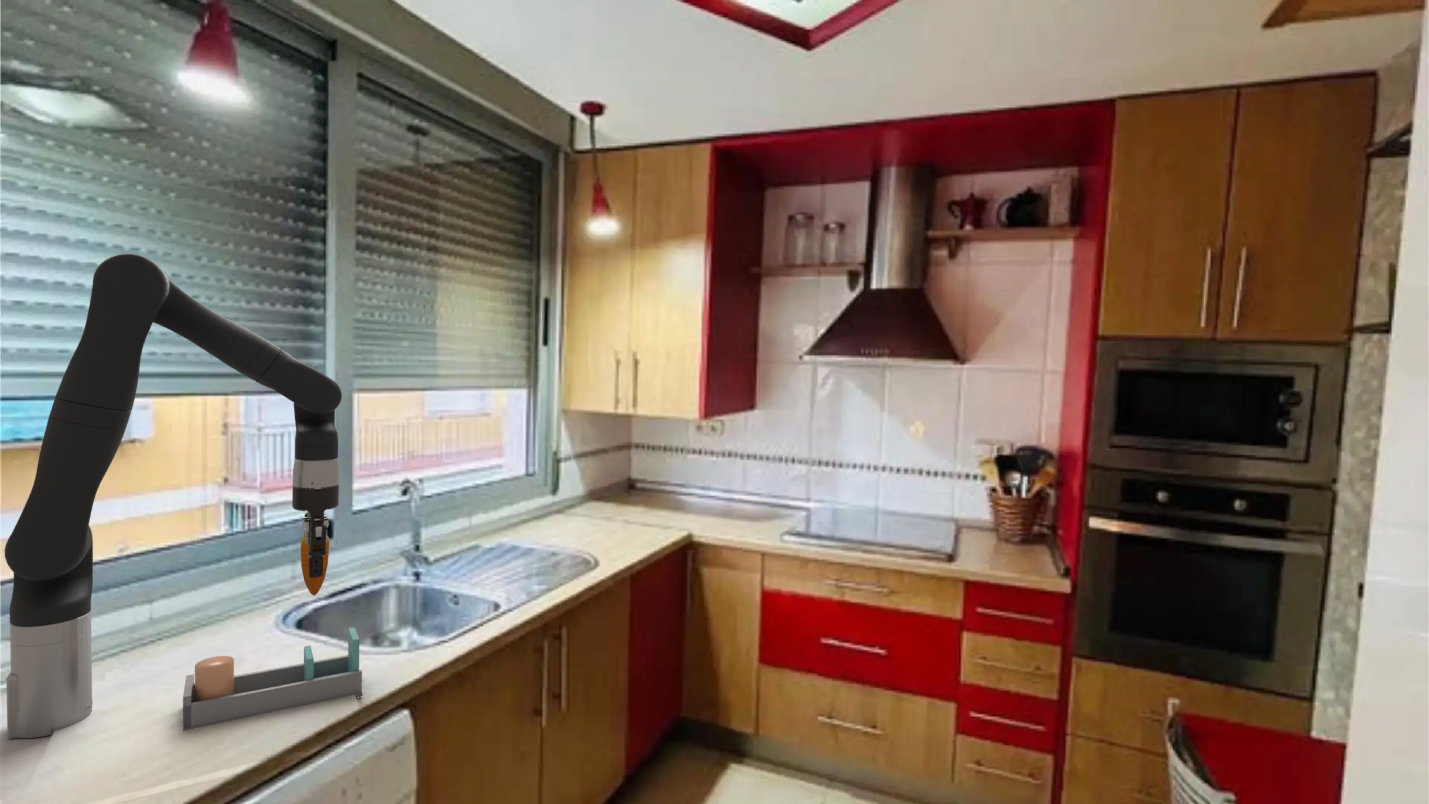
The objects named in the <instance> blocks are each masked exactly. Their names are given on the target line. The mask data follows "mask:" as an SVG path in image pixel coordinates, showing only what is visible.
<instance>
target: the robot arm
mask: <svg viewBox="0 0 1429 804" xmlns="http://www.w3.org/2000/svg"><path fill="white" fill-rule="evenodd" d="M92 279H93V280H92V286H91V287H92V288H91V294H90V299H89V300H90V301H89V306H88V310H87V315H86V320H85V326H84V329H83V333H82V335H81V338H80V340H79V342H78V344H77V346H76V348H75V350H74V352H73V355H72V356H71V358H70V361H69V363H68V365H67V368H66V369H65V372H64V374H63V376H62V379H61V381H60V385H59V386H58V389H57V391H56V394H55V397H54V400H53V403H52V406H51V410H50V412H49V415H48V418H47V422H46V427H45V431H44V435H43V438H42V443H41V446H40V451H39V455H38V461H37V465H36V473H35V477H34V481H33V485H32V488H31V489H30V490H31V491H30V493H29V496H28V498H27V500H26V502H25V504H24V507H23V509H22V511H21V513H20V516H19V518H18V519H17V521H16V524H15V526H14V528H13V529H12V532H11V534H10V535H9V537H8V538H7V541H6V543H5V546H4V559H5V561H6V562H5V563H6V564H7V566H8V568H10V570H11V571H12V572H13V586H12V593H11V600H10V604H9V641H10V642H9V643H10V645H9V646H10V648H9V649H10V653H9V654H10V672H9V674H8V675H7V677H6V678H5V679H6V717H7V718H6V724H7V725H6V726H7V727H6V734H7V735H6V736H7V739H8V740H10V739H11V740H12V739H17V738H21V739H22V738H23V739H33V738H41V737H47V736H51V735H54V733H55V731H58V730H61V729H64V728H67V727H70V726H73V725H75V724H77V723H80V722H82V721H83V720H85V719H86V718H88V717H89V716H91V713H92V712H93V666H92V662H93V661H92V660H93V659H92V658H93V657H92V654H93V653H92V594H93V585H94V584H93V583H94V582H93V581H94V577H93V576H94V571H93V570H94V541H93V540H94V537H93V531H92V529H91V526H90V520H91V516H92V510H93V508H94V507H93V506H94V502H95V499H96V496H97V492H98V490H99V488H100V485H101V483H102V481H103V480H104V477H105V476H106V473H108V472H107V471H108V470H109V467H110V466H111V464H112V462H113V460H114V458H115V456H116V454H117V452H118V449H119V447H120V445H121V443H122V440H123V439H124V436H125V432H126V429H127V427H128V424H129V420H130V417H131V414H132V410H133V408H134V404H135V399H136V394H137V390H138V384H139V377H140V370H141V369H140V367H141V359H142V353H143V350H144V344H145V343H146V340H147V337H148V334H149V332H150V330H151V328H152V325H153V323H154V324H157V325H159V326H160V327H163V328H164V329H167V330H170V331H172V332H173V333H175V334H177V335H179V336H180V337H182V338H184V339H186V340H187V341H190V342H191V343H193V344H194V345H196V346H198V347H199V348H201V349H202V350H203V351H205V352H206V353H208V354H210V355H211V356H212V357H214V358H216V359H217V360H218V361H221V363H224V364H225V365H226V366H228V367H230V368H231V369H233V370H234V371H237V372H238V373H240V374H242V375H243V376H245V377H247V378H249V379H251V380H252V381H255V382H256V384H257V383H258V384H260V385H261V386H264V387H266V388H269V389H270V390H273V391H275V392H277V393H278V394H279V395H282V396H283V397H284V398H286V399H287V400H289V401H291V402H292V403H293V411H294V424H295V436H294V463H293V468H292V491H291V492H292V499H291V502H292V505H291V507H292V508H293V510H296V511H301V512H304V516H303V517H302V526H303V527H302V528H303V532H302V533H303V538H304V537H305V543H306V545H308V546H309V553H308V556H309V577H311V578H315V577H321V576H322V575H323V556H325V553H326V542H327V536H328V527H329V525H328V523H329V518H328V516H327V515H325V511H327V510H333V509H335V508H337V507H338V506H339V501H340V500H339V499H340V464H339V433H338V431H337V429H336V424H335V422H336V421H335V420H336V418H335V416H336V415H335V413H336V409H337V408H338V407H339V406H340V404H341V402H342V397H343V394H342V390H341V387H340V385H339V384H338V383H337V382H336V381H335V380H334V379H333V378H331V377H329V376H327V375H325V374H324V373H323V372H320V371H318V370H316V369H315V368H313V367H311V366H309V365H307V364H305V363H303V362H301V361H299V360H298V359H296V358H294V357H293V356H292V355H291V354H289V353H288V352H286V351H285V350H283V349H282V348H280V347H278V346H277V345H275V343H272V342H270V341H269V340H267V339H265V338H264V337H262V336H260V335H259V334H258V333H255V332H254V331H252V330H250V329H248V328H246V327H244V326H242V325H240V324H238V323H236V322H234V321H232V320H230V319H229V318H227V317H225V316H223V315H220V314H219V313H217V312H215V311H214V310H212V309H210V308H209V307H206V306H205V305H204V304H203V303H201V302H199V301H197V300H196V299H195V298H193V297H192V296H190V295H189V293H188V294H187V293H186V292H185V291H184V290H183V289H181V288H180V287H179V286H178V285H176V284H175V283H174V282H172V280H171V279H169V278H168V276H167V275H166V273H165V271H164V270H163V268H161V266H160V265H159V264H157V263H156V262H155V261H153V260H151V259H150V258H148V257H146V256H143V255H139V254H136V253H135V254H134V253H121V254H116V255H112V256H110V257H109V258H107V259H105V260H103V261H102V262H101V263H100V264H99V265H98V266H97V267H96V269H95V271H94V274H93V278H92ZM308 519H309V520H308ZM309 538H310V539H309ZM315 545H321V549H316V550H313V547H314V546H315Z"/></svg>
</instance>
